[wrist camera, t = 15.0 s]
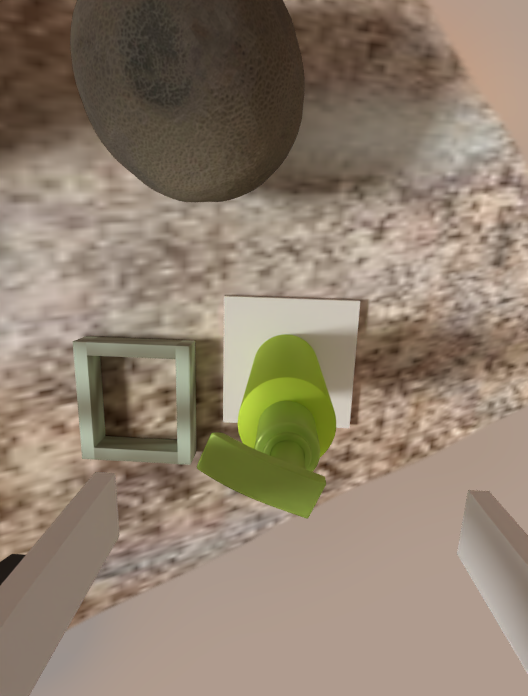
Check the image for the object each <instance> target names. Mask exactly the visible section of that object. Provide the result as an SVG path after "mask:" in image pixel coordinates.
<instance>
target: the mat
mask: <svg viewBox="0 0 528 696" xmlns="http://www.w3.org/2000/svg"><path fill="white" fill-rule="evenodd" d="M359 310H360V301H359V300H338V299H310V298H282V297H253V296H224V375H223V422H232V423H238V415H239V410H240V407H241V403H242V400H243V396H244V393H245V390H246V386H247V383H248V379H249V376H250V372H251V369H252V365H253V362H254V358H255V355H256V353H257V351H258V349H259V348H260V346H261V345H262V344H263V343H264V342H265V341H267V340H268V339H270V338H272V337H274V336H278V335H285V334H287V335H294V336H297V337H300V338H302V339H303V340H305V341H306V342H307V343H308V344H309V345H310V346H311V347H312V348H313V350H314V352H315V354H316V356H317V359H318V362H319V365H320V368H321V371H322V374H323V377H324V380H325V383H326V387H327V390H328V393H329V396H330V399H331V402H332V405H333V408H334V411H335V415H336V428H349V427H350V415H351V404H352V392H353V380H354V369H355V357H356V345H357V334H358V322H359Z"/></svg>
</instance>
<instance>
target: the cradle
mask: <svg viewBox="0 0 528 696" xmlns="http://www.w3.org/2000/svg"><path fill="white" fill-rule="evenodd" d="M73 351H74V363H75V376H76V388H77V400H78V413H79V425H80V437H81V449H82V459H96V460H115V461H133V462H152V463H170V464H189V465H191V462H192V460H193V458H194V456H195V454H196V363H195V341H194V340H170V339H145V338H120V337H96V336H86V337H83V338H81V339H78V340H76V341H73ZM100 356H114V357H137V358H161V359H176V397H177V440H171V439H152V438H133V437H113V436H105V421H104V406H103V391H102V376H101V360H100Z"/></svg>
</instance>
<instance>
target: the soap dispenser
mask: <svg viewBox="0 0 528 696" xmlns="http://www.w3.org/2000/svg"><path fill="white" fill-rule="evenodd" d="M238 431H239V435H240V438H241V440H242V442H243V443H241V442H239V441H237V440H235V439H233V438H231V437H229V436H227V435H225V434H224V433H221V432H220V433H217V432H216V433H211V435H210V437H209V439H208V442H207V444H206V446H205V448H204V451H203V453H202V455H201V458H200V460H199V462H198V465H197V469H198V470H200V471H201V472H203V473H204V474H206V475H208V476H209V477H211V478H213V479H214V480H216V481H218V482H220V483H221V484H223V485H225V486H227V487H229V488H231V489H233V490H235V491H237V492H239V493H241V494H243V495H245V496H248V497H250V498H252V499H255V500H257V501H260V502H262V503H265V504H268V505H270V506H273V507H276V508H278V509H281V510H284V511H287V512H290V513H293V514H295V515H298V516H301V517H304V518H308V517H309V516H310V514H311V512H312V510H313V508H314V506H315V504H316V502H317V500H318V499H319V497H320V495H321V493H322V491H323V489H324V487H325V485H326V480H325V477H324V476H321V475H319V474H316V473H314V472H313V471H314V469H315V468H316V466H317V464H318V462H319V458H320V457H321V456H322V455H323V454H324V453H325V452H326V451H327V450H328V448H329V447H330V445H331V443H332V441H333V439H334V436H335V432H336V415H335V411H334V408H333V405H332V402H331V399H330V396H329V393H328V390H327V387H326V383H325V380H324V377H323V374H322V371H321V368H320V365H319V362H318V359H317V356H316V354H315V352H314V350H313V348H312V347H311V346H310V345H309V344H308V343H307V342H306V341H305V340H303V339H302V338H300V337H297V336H294V335H287V334H285V335H278V336H274V337H272V338H270V339H268V340H267V341H265V342H264V343H263V344H262V345H261V346H260V348H259V349H258V351H257V353H256V355H255V358H254V362H253V365H252V369H251V372H250V376H249V379H248V383H247V386H246V390H245V393H244V396H243V400H242V403H241V407H240V410H239V415H238Z"/></svg>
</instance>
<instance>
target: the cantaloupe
mask: <svg viewBox="0 0 528 696" xmlns="http://www.w3.org/2000/svg"><path fill="white" fill-rule="evenodd" d="M70 45H71V57H72V66H73V72H74V77H75V81H76V85H77V88H78V91H79V94H80V97H81V99H82V102H83V105H84V108H85V111H86V113H87V116H88V118H89V120H90V122H91V124H92V126H93V128H94V130H95V132H96V134H97V135H98V137H99V139H100V140H101V142H102V143H103V144H104V146H105V147H106V148H107V150H108V151H109V152H110V153H111V154H112V155H113V157H114V158H115V159H116V160H117V161H118V162H120V163H121V164H122V165H123V166H124V167H125V168H126V169H127V170H129V171H130V172H131V173H132V174H134V175H135V176H136V177H137V178H138V179H139V180H141V181H142V182H143V183H144V184H145V185H147V186H148V187H150V188H151V189H153V190H155V191H157V192H159V193H161V194H163V195H165V196H167V197H170V198H172V199H176V200H179V201H184V202H208V201H209V202H221V201H227V200H231V199H234V198H237V197H240V196H242V195H244V194H247V193H249V192H251V191H253V190H254V189H256V188H257V187H259V186H260V185H261V184H262V183H263V182H265V181H266V180H267V179H268V178H269V177H270V176H271V175H272V174H273V173H274V172H275V171H276V170H277V169H278V167H279V166H280V165H281V164H282V162H283V161H284V159H285V158H286V156H287V155H288V153H289V151H290V149H291V147H292V145H293V143H294V141H295V139H296V136H297V134H298V131H299V127H300V123H301V119H302V110H303V100H304V69H303V63H302V58H301V53H300V49H299V45H298V41H297V38H296V34H295V29H294V26H293V23H292V19H291V17H290V15H289V13H288V10H287V8H286V6H285V4H284V2H283V0H77V2H76V6H75V9H74V12H73V17H72V24H71V39H70Z"/></svg>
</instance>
